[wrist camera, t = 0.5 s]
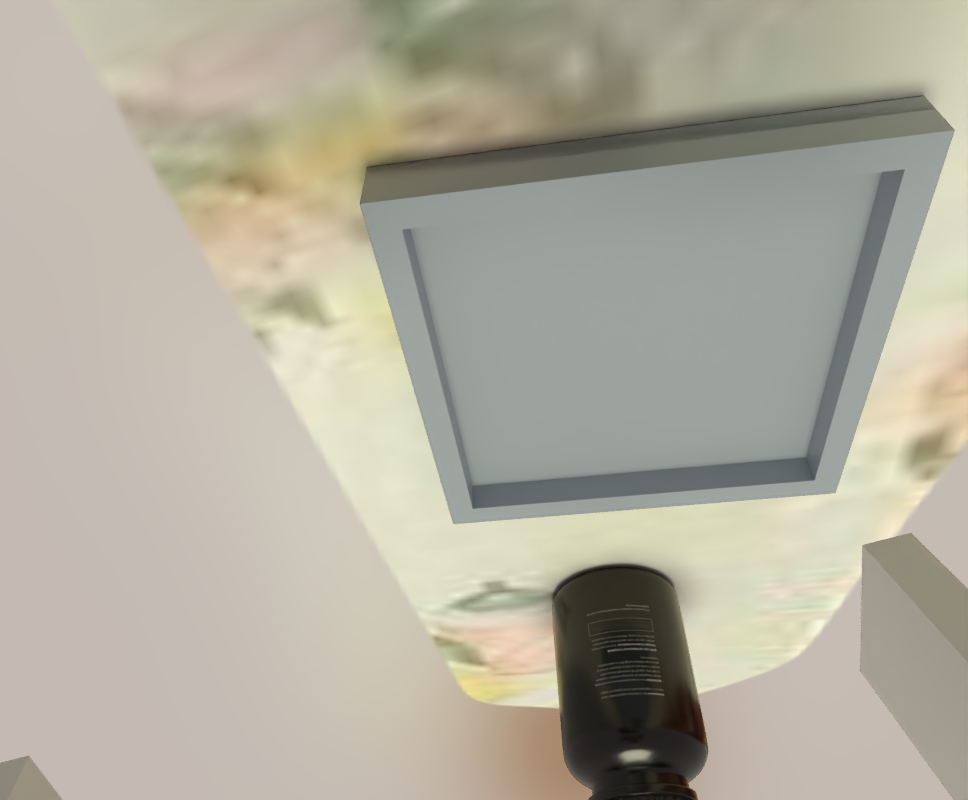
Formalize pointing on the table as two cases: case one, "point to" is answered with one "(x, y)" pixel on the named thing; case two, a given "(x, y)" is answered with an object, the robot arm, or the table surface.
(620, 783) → the supplement bottle
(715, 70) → the table surface
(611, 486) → the tray
